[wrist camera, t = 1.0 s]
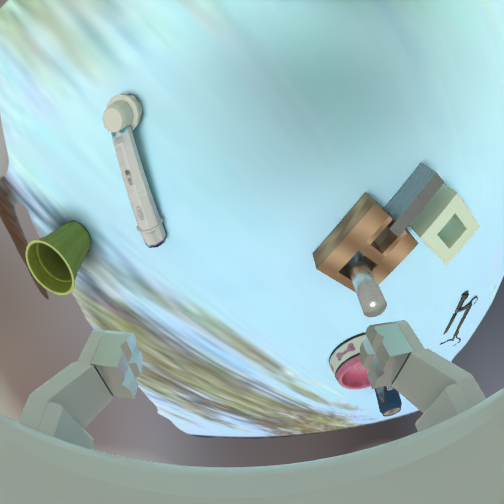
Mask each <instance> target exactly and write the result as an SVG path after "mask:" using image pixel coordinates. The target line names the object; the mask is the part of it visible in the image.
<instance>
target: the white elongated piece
mask: <svg viewBox="0 0 504 504" xmlns="http://www.w3.org/2000/svg"><path fill="white" fill-rule="evenodd" d="M135 97H136V96H133V95H130V94H127V95H126V94H120V95H117V96H114V97H113V98H112V99H111V100H110V102H109V103H108V104H107V109H106V110H105V111H104V114H103V123H104V126H105V128H106V129H107V130H108V131H110V132H111V134H112V139H113V143H114V147H115V151H116V155H117V158H118V162H119V166H120V169H121V173H122V176H123V180H124V183H125V187H126V190H127V193H128V197H129V200H130V203H131V206H132V209H133V212H134V215H135V218H136V221H137V224H138V226H137V230H138V231H139V232H140V233H141V235H142V237H143V239H144V242H145V244H146V245H147V246H148V247H149V248H152V247H158V246H160V245H161V244H163V243H164V242H165V240H166V238H167V236H166V233H165V230H164V227H163V224H162V222H163V218H161V217H160V216H159V213H158V210H157V208H156V205H155V202H154V199H153V196H152V193H151V191H150V188H149V185H148V182H147V179H146V176H145V173H144V170H143V166H142V163H141V160H140V157H139V154H138V150H137V147H136V144H135V141H134V137H133V134H132V131H133V130H134V129H135V128H136V127H137V125H138V123H139V122H140V119H141V114H142V112H143V110H142V106H141V103H139V102H138V100H137V99H136V98H135Z"/></svg>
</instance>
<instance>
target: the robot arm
mask: <svg viewBox="0 0 504 504" xmlns="http://www.w3.org/2000/svg"><path fill="white" fill-rule="evenodd" d="M365 334H366V336H367V338H366V339H365V340H364V341H362V343H361V346H360V360H361V363H362V365H363V366H364V367H365V368H367V369H368V372H367V377H368V380H369V382H370V384H371V387H372V389H373V388H379V387H383V386H388V385H392V387H394V388H395V389H396V390H397V391H398V392H399V393H400V394H402V395H403V396H404V397H405V398H406V399H407V400H409V401H410V402H411V403H412V404H413V405H414V406H416V407H417V408H418V409H419V410H420V411H422V412H423V413H424V414H423V415H422V416H421V417H420V418H419V419H418V420H417V422H416V423H415V425H416V428H417V430H418V432H417V433H414V434H412V435H409V436H406V437H404V438H401V439H398V440H395V441H392V442H389V443H386V444H383V445H379V446H376V447H372V448H369V449H365V450H361V451H358V452H354V453H349V454H345V455H341V456H336V457H331V458H325V459H320V460H314V461H308V462H301V463H293V464H285V465H276V466H275V465H274V466H261V467H238V468H237V467H236V468H235V467H232V468H225V467H224V468H221V467H195V466H182V465H172V464H163V463H155V462H149V461H142V460H137V459H131V458H126V457H121V456H117V455H112V454H108V453H104V452H100V451H96V450H93V449H92V448H93V443H94V440H93V438H92V437H91V436H90V435H89V434H88V433H87V432H86V431H85V430H84V428H85V427H86V426H87V425H88V424H89V423H90V422H91V421H92V420H93V419H94V418H95V417H96V416H97V415H98V413H99V412H100V411H101V410H102V409H103V408H104V407H105V406H106V405H107V404H108V403H109V402H110V401H111V400H112V399H113V396H114V397H120V398H129V399H135V395H136V391H137V387H138V383H137V381H136V378H137V377H138V376H139V375H140V374H141V371H142V362H143V360H142V354H141V351H140V349H139V348H138V347H136V346H135V344H136V341H137V340H136V338H135V336H134V334H133V333H126V332H117V331H108V330H107V331H106V330H98V329H95V330H93V331H92V332H91V334H90V336H89V338H88V340H87V342H86V344H85V347H84V349H83V351H82V353H81V355H80V357H79V359H78V362H73V363H72V364H70V365H69V366H67V367H66V368H65V369H63V370H62V371H60V372H59V373H58V374H56V375H55V376H54V377H52V378H51V379H50V380H48V381H47V382H45V383H44V384H43V385H41V386H40V387H39V388H37V389H36V390H35V391H33V392H32V393H31V394H30V396H29V398H28V401H27V403H26V405H25V407H24V410H23V412H22V415H21V417H20V420H19V422H18V421H16V420H13V419H11V418H10V417H8V416H6V415H4V414H2V413H0V504H504V388H503V389H501V390H500V391H498V392H496V393H495V394H493V395H492V396H490V397H488V398H487V399H486V398H485V396H484V394H483V393H482V391H481V389H480V387H479V386H478V384H477V382H476V381H475V379H474V378H473V376H472V375H471V374H470V373H468V372H466V371H465V370H463V369H461V368H460V367H458V366H456V365H455V364H453V363H451V362H450V361H448V360H446V359H445V358H443V357H441V356H440V355H438V354H436V353H434V352H433V351H431V350H429V349H425V348H424V347H423V345H422V344H421V342H420V341H419V339H418V337H417V336H416V334H415V333H414V331H413V330H412V328H411V327H410V325H409V324H408V322H407V321H405V320H401V321H395V322H389V323H383V324H376V325H370V326H369V327H368V328H367V330H366V333H365Z"/></svg>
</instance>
